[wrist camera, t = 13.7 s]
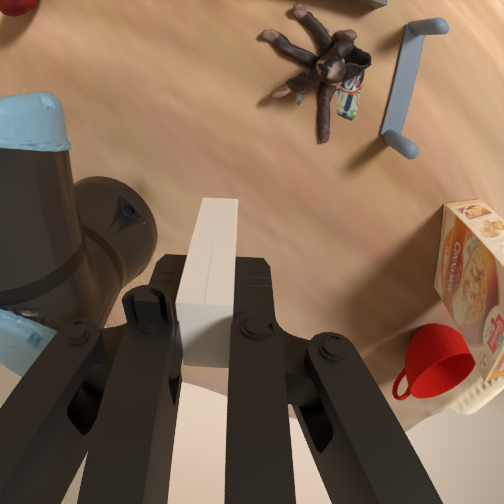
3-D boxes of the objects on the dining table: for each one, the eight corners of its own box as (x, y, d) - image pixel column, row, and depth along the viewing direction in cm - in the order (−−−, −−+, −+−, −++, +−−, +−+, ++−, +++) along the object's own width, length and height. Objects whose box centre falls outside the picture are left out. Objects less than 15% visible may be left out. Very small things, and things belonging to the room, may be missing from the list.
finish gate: (378, 140, 33) (398, 155, 28) (406, 18, 25) (432, 13, 20) (396, 146, 33) (418, 162, 28) (425, 26, 25) (452, 23, 20)
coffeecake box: (442, 203, 37) (526, 296, 21) (480, 197, 36) (566, 280, 20) (431, 287, 45) (483, 384, 29) (466, 278, 44) (521, 367, 28)
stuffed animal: (326, -12, 23) (404, 65, 22) (336, 35, 32) (395, 105, 31) (230, 41, 27) (294, 127, 25) (259, 80, 36) (311, 154, 35)
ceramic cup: (365, 356, 54) (377, 401, 46) (437, 299, 47) (461, 342, 38) (401, 374, 58) (413, 413, 50) (464, 326, 51) (485, 364, 42)
